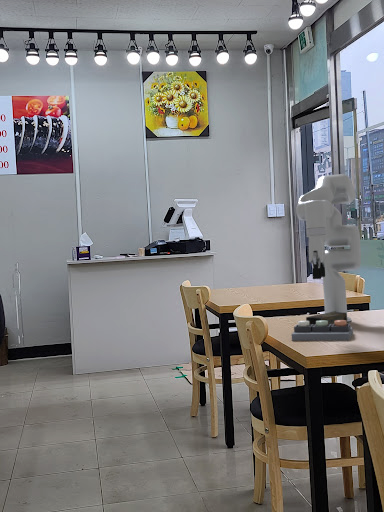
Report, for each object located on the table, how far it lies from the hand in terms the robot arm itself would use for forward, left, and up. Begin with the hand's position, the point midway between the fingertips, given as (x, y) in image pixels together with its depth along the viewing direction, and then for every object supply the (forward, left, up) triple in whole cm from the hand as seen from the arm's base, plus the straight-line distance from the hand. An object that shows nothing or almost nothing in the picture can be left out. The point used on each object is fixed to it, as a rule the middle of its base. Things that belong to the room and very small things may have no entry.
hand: (319, 277), depth 241 cm
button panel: (0, 0, -23) cm, 23 cm away
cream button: (0, -7, -19) cm, 20 cm away
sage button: (0, 0, -19) cm, 19 cm away
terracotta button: (0, +7, -19) cm, 20 cm away
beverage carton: (-19, -1, -23) cm, 30 cm away
